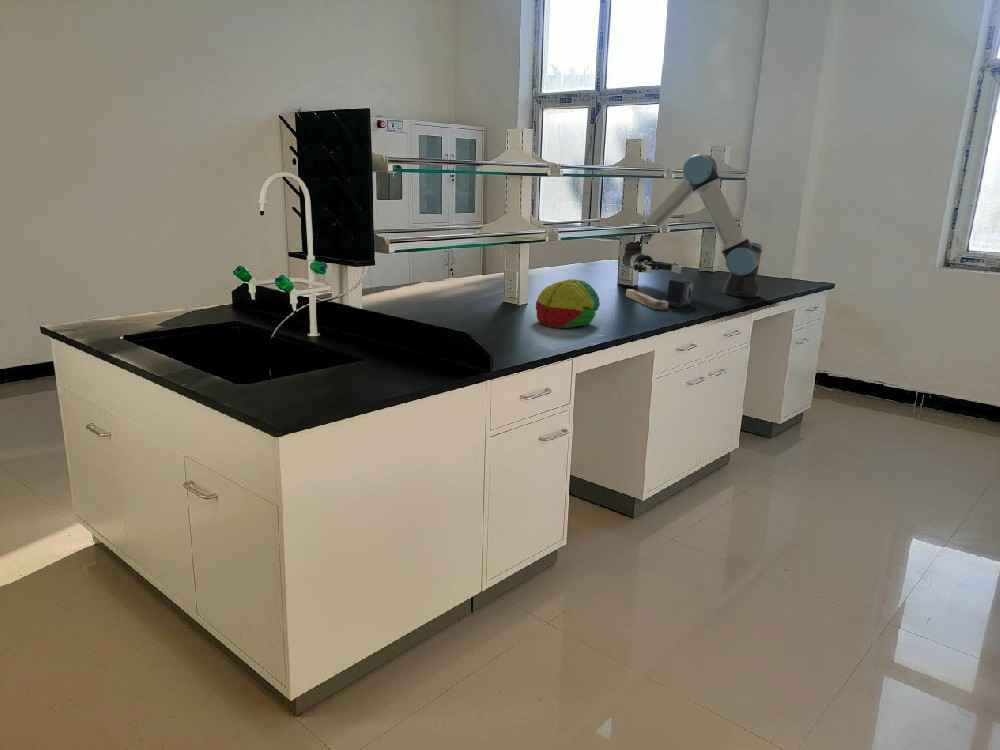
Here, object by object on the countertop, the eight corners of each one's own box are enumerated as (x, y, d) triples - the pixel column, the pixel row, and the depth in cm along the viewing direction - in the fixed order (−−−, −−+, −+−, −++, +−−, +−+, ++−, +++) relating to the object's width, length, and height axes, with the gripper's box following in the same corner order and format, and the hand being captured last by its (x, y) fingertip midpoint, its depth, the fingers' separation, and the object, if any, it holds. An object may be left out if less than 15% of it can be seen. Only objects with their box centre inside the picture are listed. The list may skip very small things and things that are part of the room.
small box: (680, 308, 280) (683, 282, 277) (664, 305, 284) (668, 279, 281) (691, 305, 289) (694, 279, 286) (676, 302, 292) (679, 277, 289)
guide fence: (637, 296, 300) (638, 289, 300) (667, 309, 277) (668, 302, 276) (625, 296, 299) (626, 289, 298) (654, 309, 275) (655, 302, 274)
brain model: (568, 312, 259) (571, 271, 254) (611, 323, 246) (614, 280, 241) (523, 323, 243) (524, 279, 238) (565, 335, 230) (568, 289, 225)
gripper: (666, 271, 319) (691, 279, 300) (615, 271, 313) (636, 279, 293) (668, 254, 317) (693, 261, 298) (616, 253, 310) (638, 260, 291)
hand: (665, 270), depth 295 cm, fingers open, 13 cm apart
